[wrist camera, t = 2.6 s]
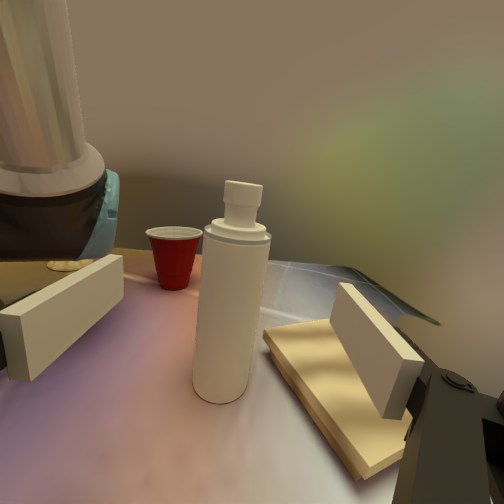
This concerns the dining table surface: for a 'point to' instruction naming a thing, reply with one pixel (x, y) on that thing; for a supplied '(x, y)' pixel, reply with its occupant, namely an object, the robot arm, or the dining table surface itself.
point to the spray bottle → (230, 295)
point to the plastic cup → (174, 254)
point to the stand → (336, 396)
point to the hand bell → (69, 265)
